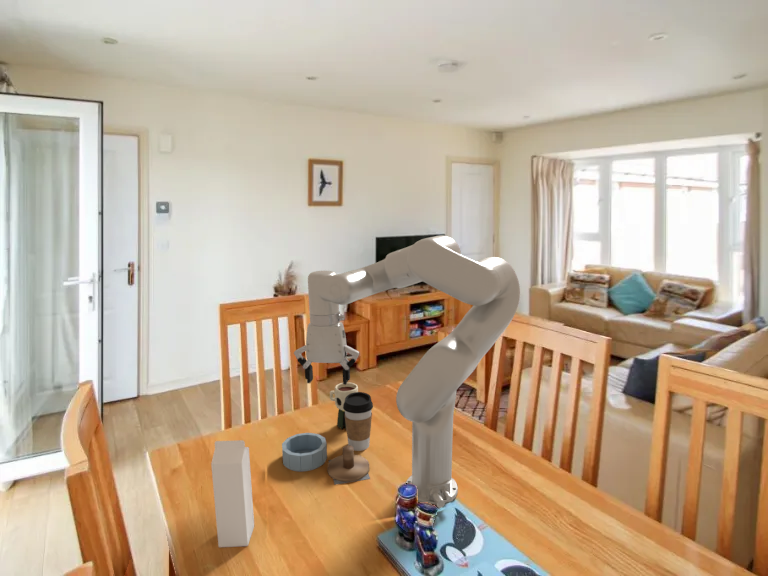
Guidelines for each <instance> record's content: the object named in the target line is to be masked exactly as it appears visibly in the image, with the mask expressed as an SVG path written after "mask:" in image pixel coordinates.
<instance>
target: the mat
mask: <svg viewBox="0 0 768 576" xmlns="http://www.w3.org/2000/svg"><path fill="white" fill-rule="evenodd" d="M331 460H332V459H328V463H329V462H330V461H331ZM332 479H333V478H332ZM364 480H365V481H366V480H371V477H370V475H369V473H368V474H367V475H366V476H365V477H363V478H361V479H359V480H356V481H351V482H350V483H353V482H360V481H364ZM347 483H349V482H343V481H338V480H335V479H333V484H334V485H340V484H341V485H342V484H347Z"/></svg>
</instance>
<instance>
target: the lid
mask: <svg viewBox="0 0 768 576" xmlns="http://www.w3.org/2000/svg"><path fill="white" fill-rule="evenodd" d="M354 451H355V450H354V448H353V446H350V445H348V444H347V445H344V446H343V447H342V454H341V455H338V456H336V457H334V458H332V459H330V460H331V461H330V462H329V461H328V464H327V474H328V476H329V477H330V478H331V479H335V480H338V481H343V482H348V483H352V482H351V481H354V482H357V481H356V480H359V479H361V478H363V477H365V476H366V475H367V474H369V472H370V463H369V460H368V459H367V458H366V457H364V456H362V455H359V454H355V452H354Z"/></svg>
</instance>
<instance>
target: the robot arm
mask: <svg viewBox="0 0 768 576" xmlns="http://www.w3.org/2000/svg"><path fill="white" fill-rule="evenodd" d="M461 253H462V252H461V248H460V245H459V244H458V242H456V241H455V239H454V238H452V237H450V236H447V235H436V236H430V237H426V238H422V239H420V240H418V241H416V242H414V244H412V245H409V246H407V247H404V248H401V249H397V250H395V251H392V252H389V253H388V254H387V255H386V256H385V258H383V259H382V260H379V261H378V262H377V261H376V262H374V263H372V264H369V265H366V266H363V267H360V268H357V269H352V270H349V271H346V272H341V273H338V274H337V273H336V272H335V271H333V270H316V271H312V272H310V273H309V274H308V275H307V289H308V290H307V291H308V306H309V307H308V308H309V309H308V311H309V323H308V324H307V329H306V336H305V337H306V338H305V342H306V343H305V345H303V346H301V347H299V348H297V349H296V350H294V352H293V355H294V357H295V358H296V359H297V362H298V363H299V364H300V365H301V366H302V368H303V369H304V376H305V377H304V378H305V380H306V383H307V384H311V382H312V381H313V380H314V371H313V366H312V363H318V364H319V363H323V364H339V365H341V367H342V368H343V369H342V383H343V384H344V385H346V384H347V383H349V381H350V380H351V369H350V368H351V367H352V366H353V365H354V364H355V363H356V362H357V359H358V357H359V355H360V351H359V350H357V349H354V348H353V347H351V346H349V345H347V338H346V337H347V336H346V331H345V326H344V323H343V322H342V321H345V319H346V315H345V314H341V311H340V305H341V306H345V305H349V304H352V303H353V302H356V301H359V300H361V299H365V298H367V297H368V298H369V297H370V296H373V295H376V294H378V293H382V292H386V291H387V290H391V289H394V288H397V289H404V288H407V287H410V286H413V285H416V284H418V283H421V282H423V283H425V284H427V285H429V286H430V287H432V288H435V289H436V290H439V291H441V292H442V293H445V294H446V295H449V296H450V297H452V298H454V299H456V300H458V301H460V302H462V303H464V304H467V305H471V306H472V307H471V308H470V309H469V310H468V311H467V312H466V313H465V314H464V316H463V318H462V319H461V320H460V321H459V323H458V324H457V325H456V327H455V328H454V329H452V331H451V332H450V333H449V334H448V335H447V336H445V337H443V338H442V339H441V340H440V341H438V342H437V343H435V344H434V345H433V346H431V348H430V349H428V350H427V351H426V352H425V354H424V355H423V356H422V357H421V358H420V360H419V361H418V362H417V363H416V365H415V366H414V367H413V369H412V370H411V371H410V373H409V374H408V375H407V376H406V378H405V379H404V380H403V381H402V382H401V384H400V386H399V387H398V388H397V389H398V390H397V392H396V397H395V398H396V399H395V400H396V401H395V402H396V406H397V410H398V411H399V413H400V415H401V416H402V417H403V418H404V419H406V420H407V421H409V422H411V423H412V425H411V427H412V428H411V429H412V431H411V433H412V434H411V441H412V442H411V475H410V476H408V478H407V479H406V481H405V484H406V483H412V484H414V485H416V486H417V489H418V501H417V502H418V503H420V502H428V503H431V504H434V505H433V506H436V507H437V508H439V509H442V508H443V507H444V506H445V505H446V504H447V503H449V502H452V501H454V500H455V499H456V497H457V496H458V491H459V487H458V484H457V482H456V480H455V479H454V478H453V477H452V476H453V475H452V470H453V467H452V466H453V433H454V431H453V430H454V413H455V412H454V411H455V403H456V398H457V390H458V389H459V388H460V387H461V385H462V384H464V382H465V381H466V380H467V379H468V378H469V377H470V375H472V373H473V372H475V370H476V368H477V366H478V365H479V363H480V362H481V360H482V359H483V357H485V355H486V354H487V353H488V352H489V351H490V349H491V348H492V347H493V346H494V344H495V343H496V342H497V341H498V339H499V338H500V337H501V335H502V334H503V333H504V332H505V331H506V330H507V328H508V327H509V325H510V324H511V322H512V320H513V319H514V317H515V315H516V313H517V310H518V307H519V303H520V298H521V297H520V295H521V288H520V287H521V286H520V282H519V278H518V275H517V273H516V272H515V269H514V268H513V266H512V265H511V264H510V263H509V262H508V261H507V260H505V259H503V258H501V257H497V256H487V257H483V258H481V259H477V260H476V261H475V260H474V259H471V258H469V257H467V256H464V255H463V254H461ZM304 352H305V356H306V358H305V357H304V356H303V355H302V354H303V353H304ZM348 354H349V355H351V356H352V357H351V358H350V360H349V359H348V358H347V355H348Z"/></svg>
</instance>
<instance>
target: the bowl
mask: <svg viewBox="0 0 768 576" xmlns="http://www.w3.org/2000/svg"><path fill="white" fill-rule="evenodd" d="M281 448H282V449H281V450H282V453H281V454H282V462H283V463H282V465H283V466H284V467H285V469H286V468H287V469H288V470H290V471H294V472H308V471H313V470H315V469H318V468H320V467H322V465H324V464H325V463H326V462H327V458H328V446H327V440H326V437H325V436H323V435H321V434H319V433H314V432H303V433H296V434H294V435H291V436H289V437H287V438H286V439H285V440H284V441H283V442H282V443H281Z"/></svg>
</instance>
